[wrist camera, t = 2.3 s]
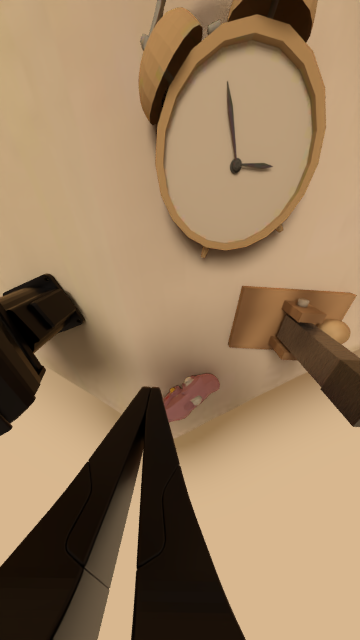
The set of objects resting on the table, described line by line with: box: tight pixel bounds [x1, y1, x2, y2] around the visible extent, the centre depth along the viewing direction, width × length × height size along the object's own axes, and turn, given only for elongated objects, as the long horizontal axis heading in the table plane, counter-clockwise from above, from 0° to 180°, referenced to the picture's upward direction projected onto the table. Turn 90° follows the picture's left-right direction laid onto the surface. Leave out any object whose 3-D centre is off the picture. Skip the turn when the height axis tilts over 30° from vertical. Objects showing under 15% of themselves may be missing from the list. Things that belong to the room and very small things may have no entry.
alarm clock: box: [139, 0, 326, 258], centre depth 12 cm, size 11×5×15 cm
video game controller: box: [163, 373, 220, 422], centre depth 25 cm, size 10×5×7 cm, turn 136°
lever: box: [277, 314, 360, 427], centre depth 15 cm, size 2×3×10 cm, turn 176°
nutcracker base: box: [228, 286, 357, 360], centre depth 19 cm, size 12×8×4 cm, turn 86°
